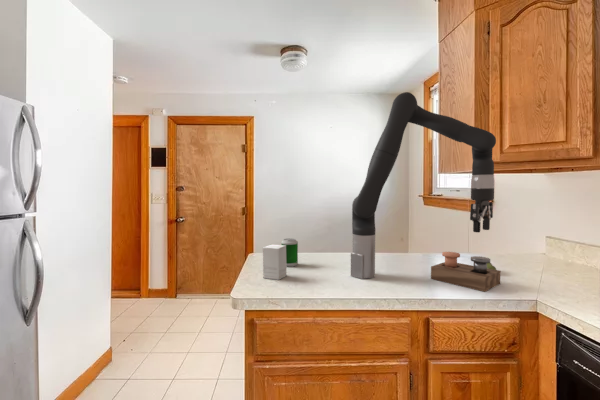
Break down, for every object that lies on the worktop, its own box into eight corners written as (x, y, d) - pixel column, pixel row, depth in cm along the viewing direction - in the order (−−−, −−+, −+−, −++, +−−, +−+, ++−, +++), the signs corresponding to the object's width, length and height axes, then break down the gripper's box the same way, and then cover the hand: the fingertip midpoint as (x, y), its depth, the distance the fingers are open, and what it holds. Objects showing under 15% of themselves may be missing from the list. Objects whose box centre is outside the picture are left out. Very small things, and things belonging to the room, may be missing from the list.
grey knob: (485, 276, 117) (486, 261, 116) (467, 272, 122) (467, 258, 121) (492, 273, 121) (493, 258, 120) (474, 269, 126) (475, 255, 125)
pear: (485, 257, 143) (501, 266, 133) (483, 268, 144) (499, 278, 134) (473, 257, 142) (489, 266, 132) (471, 268, 143) (487, 278, 133)
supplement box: (287, 275, 134) (287, 245, 133) (278, 280, 127) (278, 248, 127) (271, 273, 137) (271, 243, 137) (262, 278, 131) (262, 247, 130)
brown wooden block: (484, 291, 113) (485, 277, 113) (430, 278, 129) (431, 266, 129) (500, 283, 122) (500, 270, 122) (447, 272, 138) (448, 261, 138)
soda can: (297, 267, 147) (297, 241, 147) (281, 267, 147) (280, 241, 147) (297, 263, 155) (297, 238, 154) (282, 263, 155) (282, 238, 154)
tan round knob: (455, 270, 125) (455, 255, 125) (439, 266, 130) (439, 253, 130) (462, 267, 129) (462, 253, 129) (446, 264, 134) (447, 251, 134)
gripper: (479, 187, 127) (478, 228, 128) (463, 187, 118) (462, 231, 119) (500, 187, 121) (499, 230, 122) (485, 187, 112) (484, 234, 113)
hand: (481, 231), depth 121 cm, fingers open, 8 cm apart
